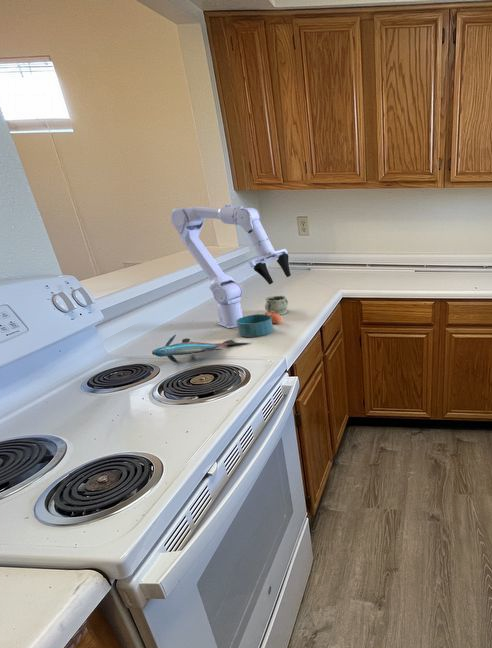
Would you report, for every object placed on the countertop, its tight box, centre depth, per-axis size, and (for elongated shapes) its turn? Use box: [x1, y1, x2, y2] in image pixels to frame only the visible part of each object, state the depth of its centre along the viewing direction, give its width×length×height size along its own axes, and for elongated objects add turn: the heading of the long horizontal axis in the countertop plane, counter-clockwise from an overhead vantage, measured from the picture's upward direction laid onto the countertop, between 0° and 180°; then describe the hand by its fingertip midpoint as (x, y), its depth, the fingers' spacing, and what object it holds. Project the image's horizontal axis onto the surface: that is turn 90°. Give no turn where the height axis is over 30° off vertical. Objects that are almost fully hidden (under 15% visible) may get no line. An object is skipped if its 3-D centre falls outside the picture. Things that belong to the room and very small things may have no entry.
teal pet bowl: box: [236, 313, 274, 338], centre depth 150 cm, size 12×12×5 cm
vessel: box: [264, 295, 289, 316], centre depth 173 cm, size 12×9×6 cm
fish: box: [151, 334, 250, 363], centre depth 129 cm, size 30×8×15 cm
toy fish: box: [264, 311, 282, 325], centre depth 161 cm, size 9×4×4 cm, turn 48°
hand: (280, 279), depth 146 cm, fingers open, 7 cm apart
